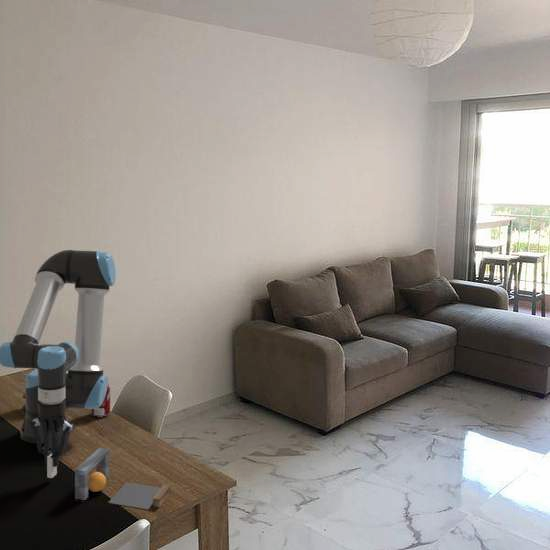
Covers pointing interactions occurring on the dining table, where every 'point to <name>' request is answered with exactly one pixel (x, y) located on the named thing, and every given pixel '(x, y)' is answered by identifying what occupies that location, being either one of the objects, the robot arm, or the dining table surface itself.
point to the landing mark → (135, 496)
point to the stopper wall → (161, 496)
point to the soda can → (103, 406)
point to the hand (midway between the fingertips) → (52, 475)
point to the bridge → (82, 472)
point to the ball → (96, 481)
